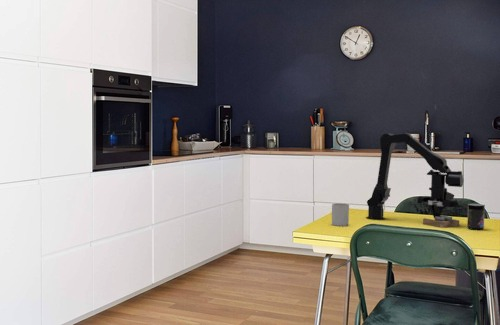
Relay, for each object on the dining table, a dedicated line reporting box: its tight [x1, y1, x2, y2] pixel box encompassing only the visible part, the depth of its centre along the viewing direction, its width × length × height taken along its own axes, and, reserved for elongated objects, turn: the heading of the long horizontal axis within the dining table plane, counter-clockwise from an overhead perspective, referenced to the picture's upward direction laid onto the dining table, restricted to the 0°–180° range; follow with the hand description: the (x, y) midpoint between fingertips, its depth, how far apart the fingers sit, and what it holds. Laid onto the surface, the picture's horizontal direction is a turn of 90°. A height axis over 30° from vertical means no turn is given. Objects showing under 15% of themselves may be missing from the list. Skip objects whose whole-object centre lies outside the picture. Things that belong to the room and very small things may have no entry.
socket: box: [434, 215, 453, 221], centre depth 274 cm, size 5×5×4 cm
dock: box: [422, 217, 460, 229], centre depth 275 cm, size 10×11×3 cm
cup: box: [331, 203, 350, 227], centre depth 273 cm, size 7×10×9 cm
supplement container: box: [466, 203, 486, 231], centre depth 265 cm, size 7×7×10 cm
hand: (436, 220), depth 278 cm, fingers closed
